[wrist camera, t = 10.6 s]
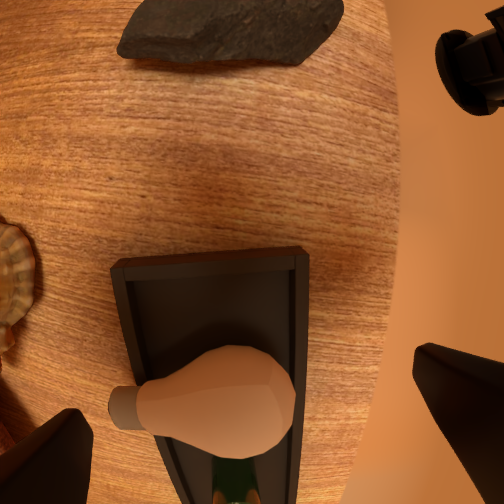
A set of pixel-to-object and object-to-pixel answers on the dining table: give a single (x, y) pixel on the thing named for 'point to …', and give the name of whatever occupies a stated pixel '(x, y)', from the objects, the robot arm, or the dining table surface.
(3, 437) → the basket
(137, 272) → the tray
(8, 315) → the seashell
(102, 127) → the dining table surface
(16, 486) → the robot arm
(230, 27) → the rock
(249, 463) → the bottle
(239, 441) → the light bulb
